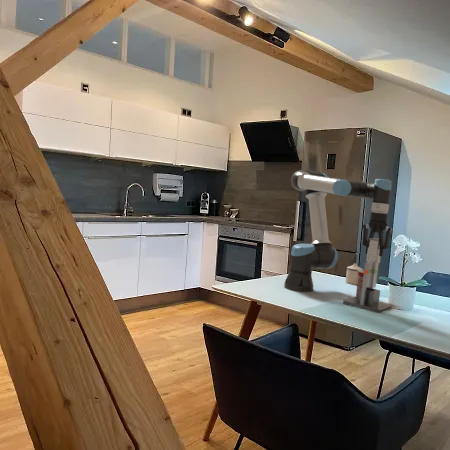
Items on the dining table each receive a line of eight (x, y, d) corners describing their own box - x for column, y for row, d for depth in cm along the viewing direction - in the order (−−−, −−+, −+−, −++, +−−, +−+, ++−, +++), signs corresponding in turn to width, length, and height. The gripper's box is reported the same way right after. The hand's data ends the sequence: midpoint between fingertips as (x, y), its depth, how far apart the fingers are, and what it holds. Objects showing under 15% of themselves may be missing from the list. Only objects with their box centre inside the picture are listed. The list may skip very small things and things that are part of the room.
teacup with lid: (363, 285, 269) (366, 265, 268) (350, 284, 267) (352, 264, 266) (352, 280, 281) (355, 262, 280) (339, 280, 278) (342, 261, 277)
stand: (342, 303, 216) (348, 259, 214) (355, 299, 228) (361, 257, 226) (380, 313, 205) (386, 266, 203) (391, 308, 216) (397, 264, 215)
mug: (375, 300, 231) (378, 274, 229) (358, 298, 230) (361, 272, 229) (366, 294, 243) (369, 269, 242) (349, 293, 242) (352, 267, 241)
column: (363, 286, 215) (369, 237, 213) (367, 285, 219) (373, 237, 217) (372, 288, 212) (379, 239, 210) (376, 287, 216) (382, 239, 214)
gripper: (358, 210, 215) (352, 259, 217) (395, 214, 204) (388, 266, 206) (364, 210, 221) (358, 258, 223) (400, 214, 210) (394, 264, 212)
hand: (373, 261), depth 215 cm, fingers closed on column, 4 cm apart
